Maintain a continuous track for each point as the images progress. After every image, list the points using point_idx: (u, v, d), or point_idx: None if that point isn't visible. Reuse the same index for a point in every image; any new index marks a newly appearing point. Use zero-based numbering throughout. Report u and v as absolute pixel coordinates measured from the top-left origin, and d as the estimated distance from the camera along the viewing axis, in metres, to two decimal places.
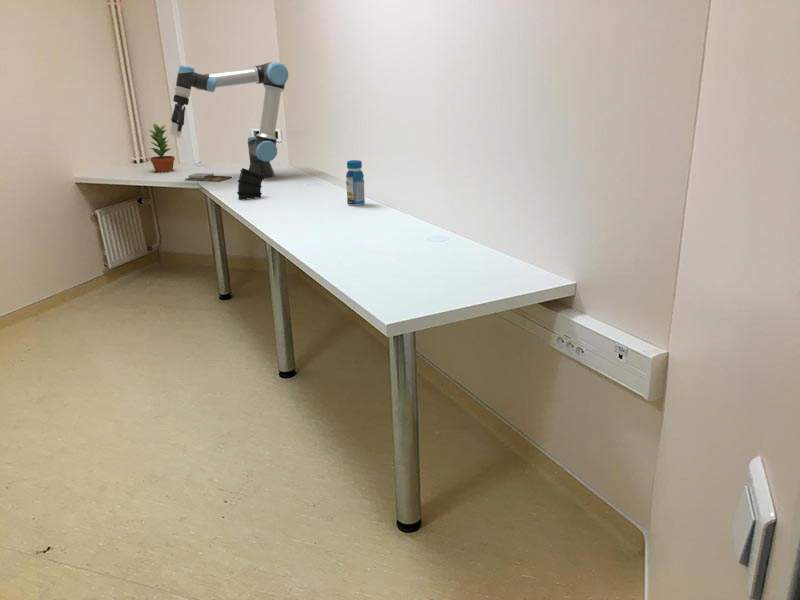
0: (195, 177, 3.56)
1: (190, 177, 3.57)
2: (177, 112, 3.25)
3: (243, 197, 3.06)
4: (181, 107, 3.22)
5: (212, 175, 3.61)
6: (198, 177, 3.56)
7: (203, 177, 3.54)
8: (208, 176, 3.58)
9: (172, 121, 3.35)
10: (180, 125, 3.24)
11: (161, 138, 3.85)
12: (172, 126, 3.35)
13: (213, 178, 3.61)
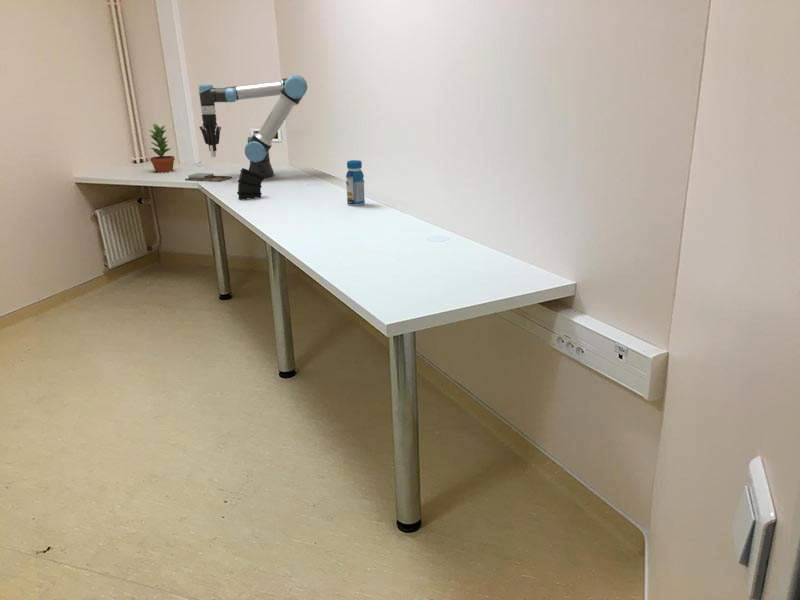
0: (195, 177, 3.56)
1: (190, 177, 3.57)
2: (212, 132, 3.46)
3: (243, 197, 3.06)
4: (218, 129, 3.45)
5: (212, 175, 3.61)
6: (198, 177, 3.56)
7: (203, 177, 3.54)
8: (208, 176, 3.58)
9: (209, 143, 3.49)
10: (215, 145, 3.50)
11: (161, 138, 3.85)
12: None
13: (213, 178, 3.61)
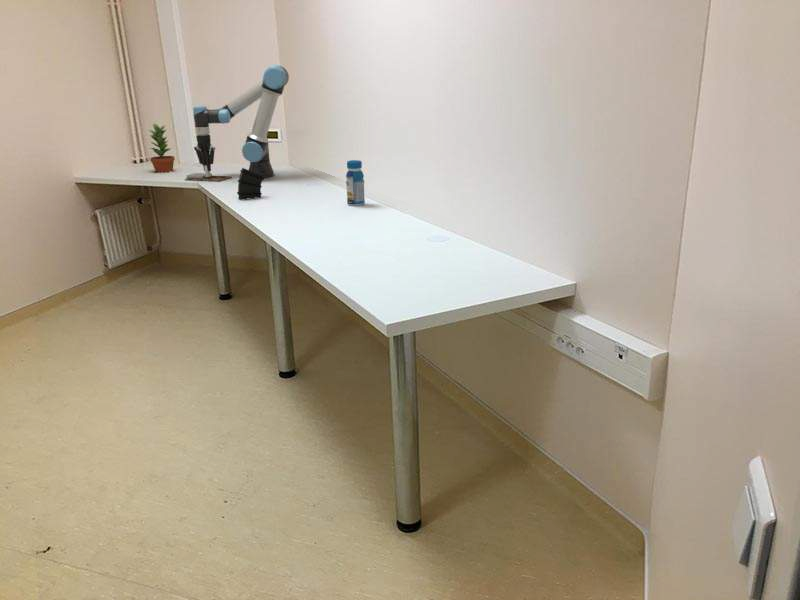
0: (193, 177, 3.57)
1: (188, 177, 3.58)
2: (206, 153, 3.52)
3: (243, 197, 3.06)
4: (213, 149, 3.51)
5: None
6: (196, 177, 3.56)
7: (201, 177, 3.55)
8: None
9: (204, 163, 3.55)
10: (209, 165, 3.56)
11: (161, 138, 3.85)
12: None
13: (213, 178, 3.61)
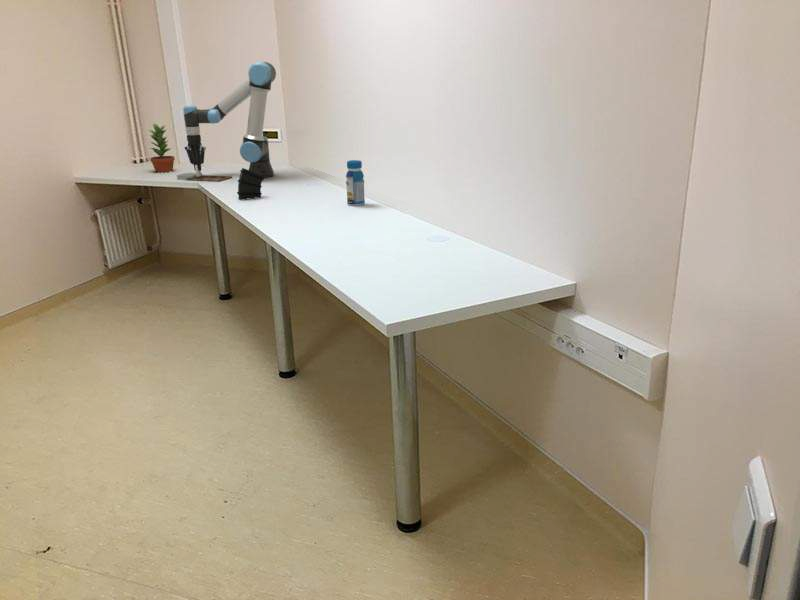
0: (184, 177, 3.58)
1: (179, 177, 3.60)
2: (196, 152, 3.54)
3: (243, 197, 3.06)
4: (203, 149, 3.53)
5: (201, 174, 3.64)
6: (186, 177, 3.58)
7: (191, 176, 3.57)
8: None
9: (195, 163, 3.57)
10: (200, 165, 3.58)
11: (161, 138, 3.85)
12: None
13: (213, 178, 3.61)
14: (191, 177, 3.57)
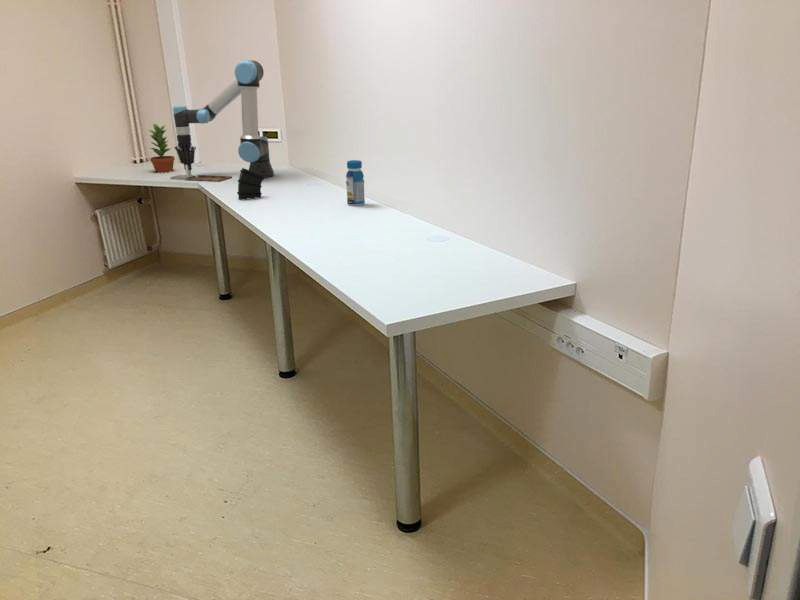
0: None
1: None
2: (186, 152, 3.56)
3: (243, 197, 3.06)
4: (193, 149, 3.55)
5: (194, 177, 3.66)
6: (180, 179, 3.60)
7: None
8: (190, 178, 3.62)
9: (185, 163, 3.59)
10: (190, 164, 3.60)
11: (161, 138, 3.85)
12: None
13: (213, 178, 3.61)
14: (184, 179, 3.59)
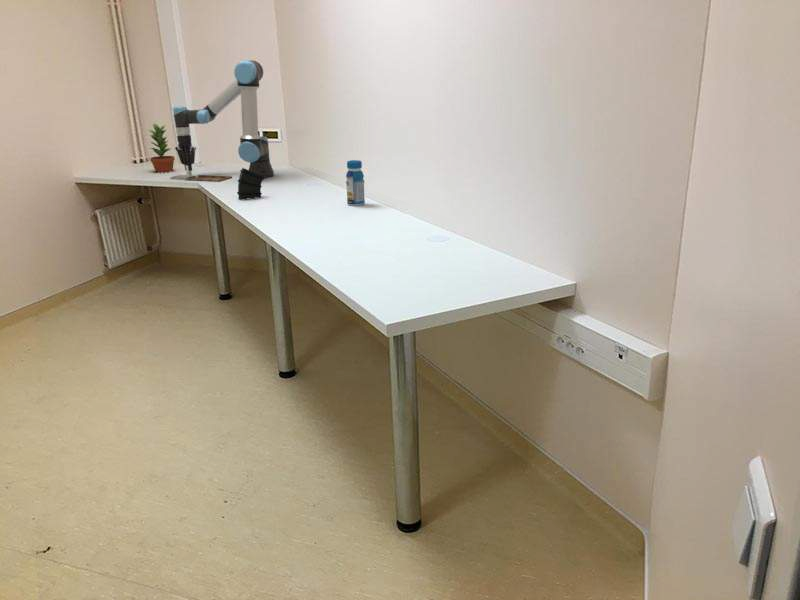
0: None
1: None
2: (187, 153, 3.56)
3: (243, 197, 3.06)
4: (193, 149, 3.55)
5: (194, 177, 3.66)
6: (180, 179, 3.60)
7: None
8: (190, 178, 3.62)
9: (185, 163, 3.59)
10: (190, 165, 3.60)
11: (161, 138, 3.85)
12: None
13: (213, 178, 3.61)
14: (184, 179, 3.59)
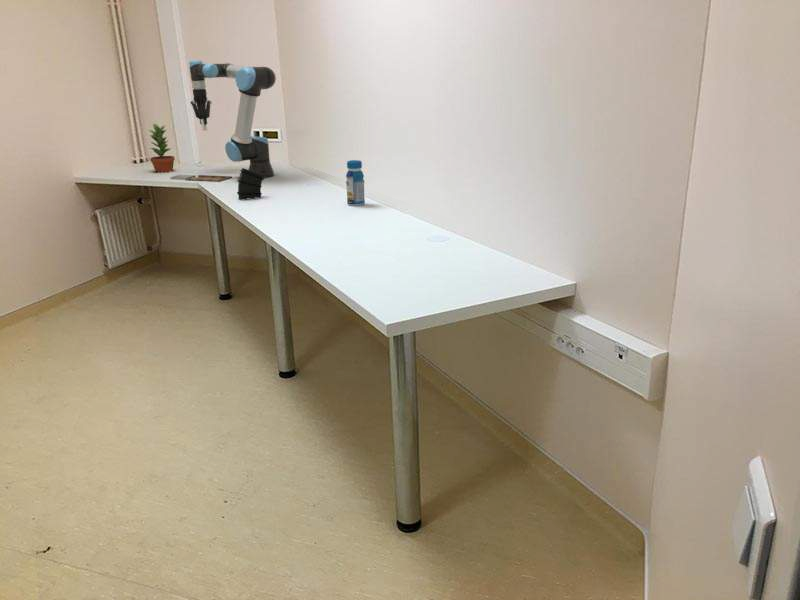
0: None
1: None
2: (202, 106, 3.65)
3: (243, 197, 3.06)
4: (209, 103, 3.64)
5: (194, 177, 3.66)
6: (180, 179, 3.60)
7: None
8: (190, 178, 3.62)
9: (200, 117, 3.68)
10: (206, 119, 3.69)
11: (161, 138, 3.85)
12: None
13: (213, 178, 3.61)
14: (184, 179, 3.59)
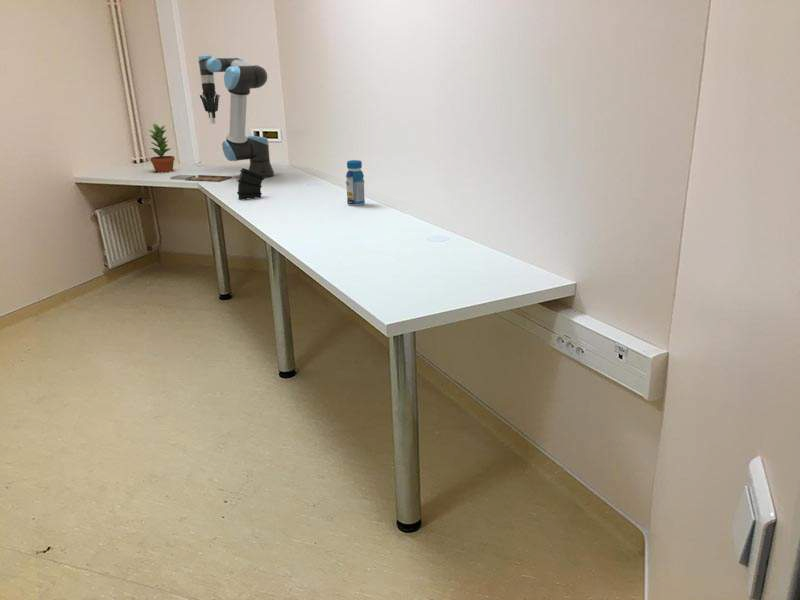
0: None
1: None
2: (211, 100, 3.73)
3: (243, 197, 3.06)
4: (217, 97, 3.72)
5: (194, 177, 3.66)
6: (180, 179, 3.60)
7: None
8: (190, 178, 3.62)
9: (209, 111, 3.76)
10: (214, 112, 3.77)
11: (161, 138, 3.85)
12: None
13: (213, 178, 3.61)
14: (184, 179, 3.59)
